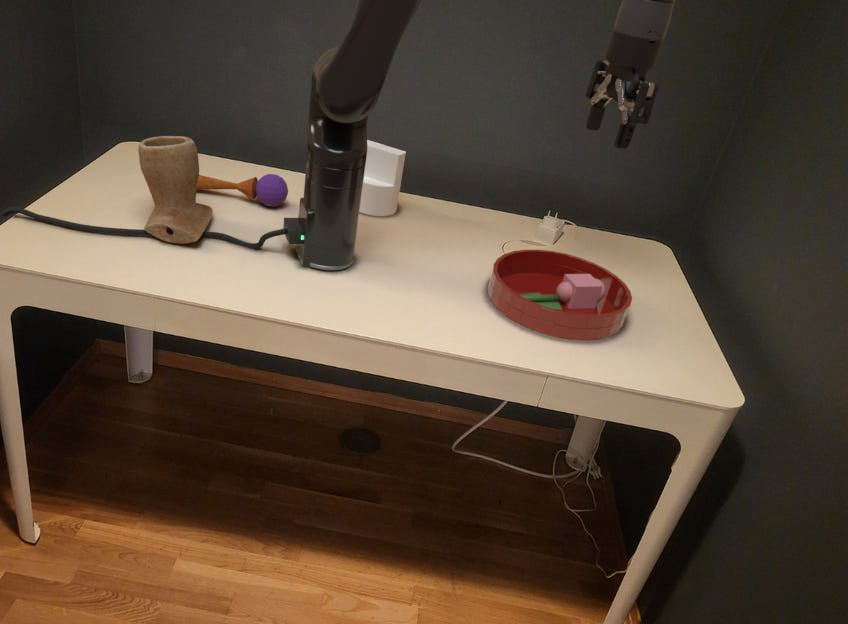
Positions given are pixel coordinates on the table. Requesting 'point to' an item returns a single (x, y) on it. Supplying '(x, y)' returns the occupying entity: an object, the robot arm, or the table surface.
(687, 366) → the table surface
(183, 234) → the stone cup
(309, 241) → the robot arm
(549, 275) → the bowl
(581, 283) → the tulip
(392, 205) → the base with upright slab
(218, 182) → the kendama
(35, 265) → the table surface
